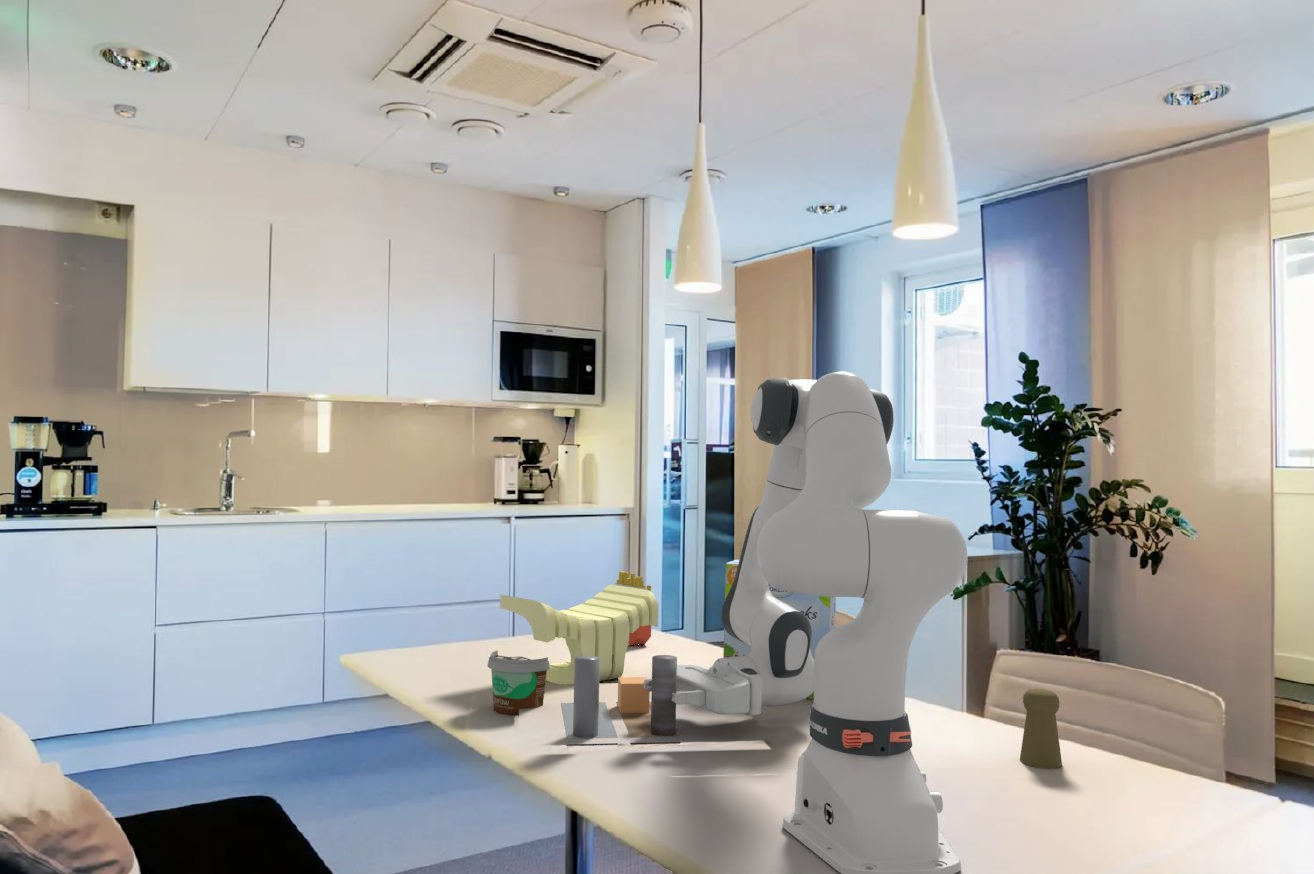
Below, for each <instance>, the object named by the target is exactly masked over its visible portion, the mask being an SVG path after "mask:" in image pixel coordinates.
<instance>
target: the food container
mask: <svg viewBox="0 0 1314 874" xmlns="http://www.w3.org/2000/svg"><path fill="white" fill-rule="evenodd" d="M498 652H499V651H498V650H494V651H492V652H490V656H489V658H488V661H487V668H489V669H491V670H490V671H491V685H492V700H493V701H492V702H493V712H495V713H496V714H499V715H505V716H510V717H511V716H512V717H513V716H517V717H519V716H520V710H524V709H525V710H526V709H535V708H539V707H541V706H543V705H544V700H545V699H544V698H545V688H546V682H547V681H546V673H547V670H549V669H550V665H549V664H550V661H549V657H541V658H536V659H535V658H534V659H531V658H528V657H524V656H504V655H499V654H498Z"/></svg>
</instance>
